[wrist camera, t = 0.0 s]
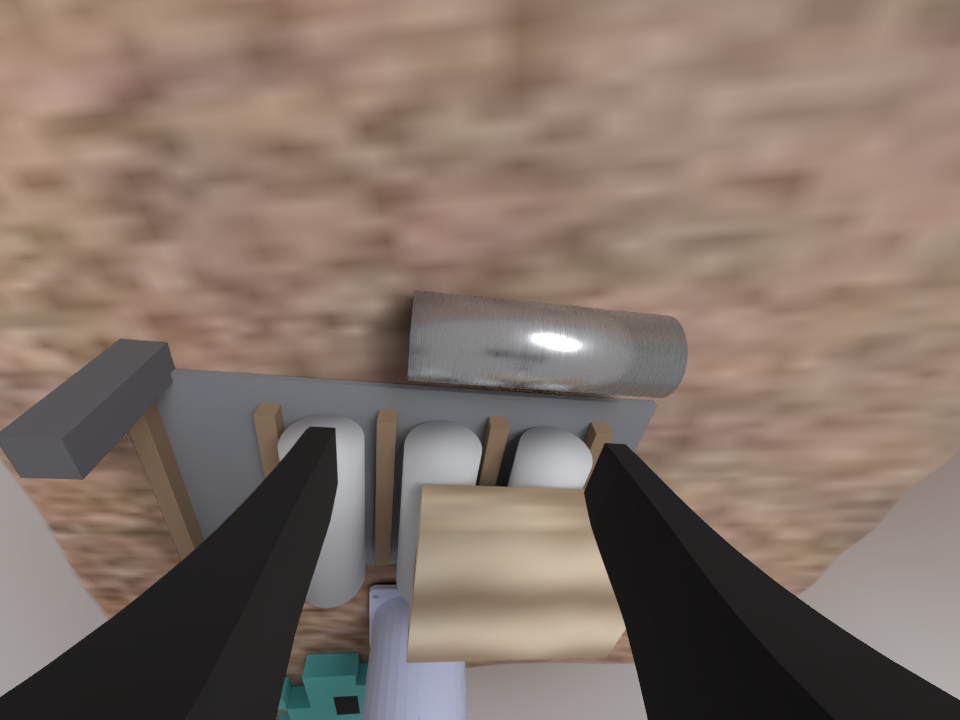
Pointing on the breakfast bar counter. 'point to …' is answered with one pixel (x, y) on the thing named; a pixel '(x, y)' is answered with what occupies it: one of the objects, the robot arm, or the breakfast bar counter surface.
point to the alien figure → (326, 689)
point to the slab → (508, 577)
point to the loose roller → (544, 346)
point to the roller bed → (238, 452)
